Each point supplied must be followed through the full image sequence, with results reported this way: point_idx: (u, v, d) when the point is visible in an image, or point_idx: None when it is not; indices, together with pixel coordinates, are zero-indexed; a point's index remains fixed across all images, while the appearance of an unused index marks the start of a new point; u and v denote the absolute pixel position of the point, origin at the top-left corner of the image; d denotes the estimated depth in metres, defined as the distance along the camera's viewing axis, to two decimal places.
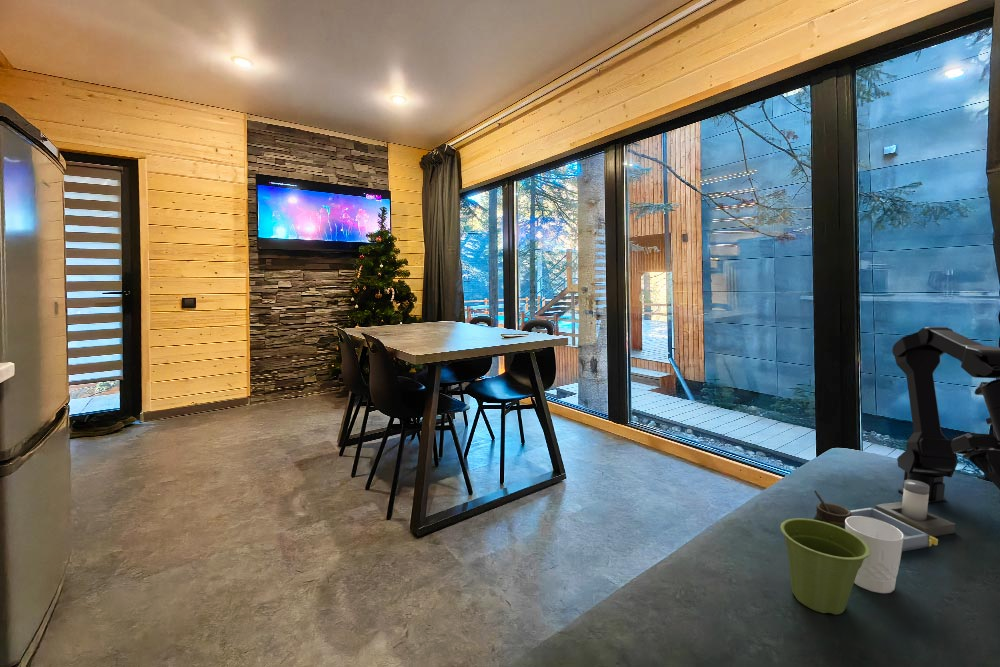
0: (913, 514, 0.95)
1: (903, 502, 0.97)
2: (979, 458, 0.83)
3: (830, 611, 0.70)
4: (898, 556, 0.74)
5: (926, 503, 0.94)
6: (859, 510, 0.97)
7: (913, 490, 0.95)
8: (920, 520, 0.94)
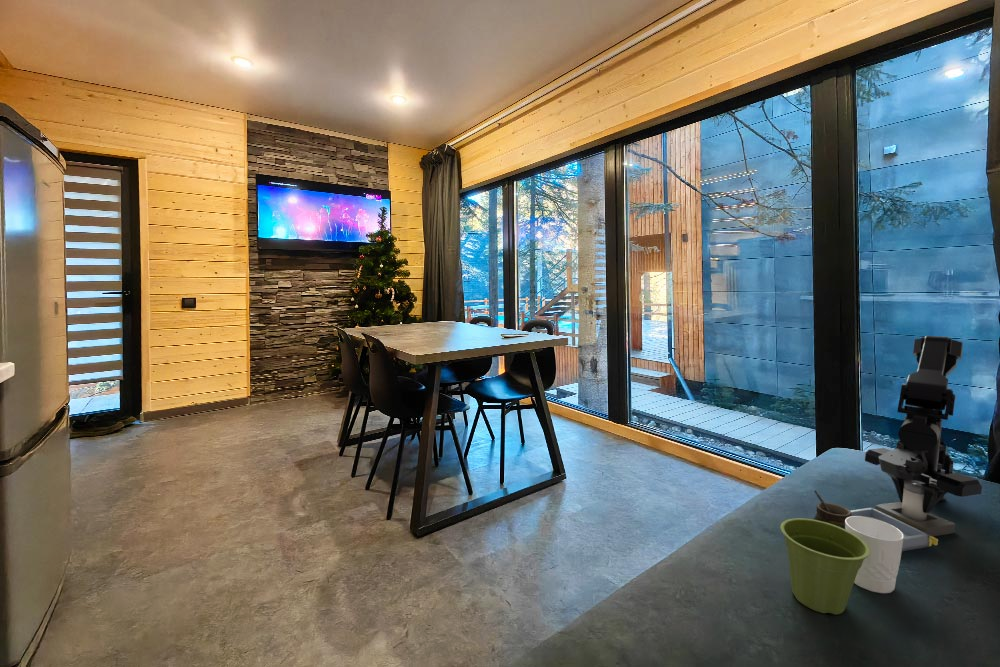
0: (913, 514, 0.95)
1: (903, 502, 0.97)
2: None
3: (830, 611, 0.70)
4: (898, 556, 0.74)
5: None
6: (859, 510, 0.97)
7: (913, 490, 0.95)
8: (920, 520, 0.94)
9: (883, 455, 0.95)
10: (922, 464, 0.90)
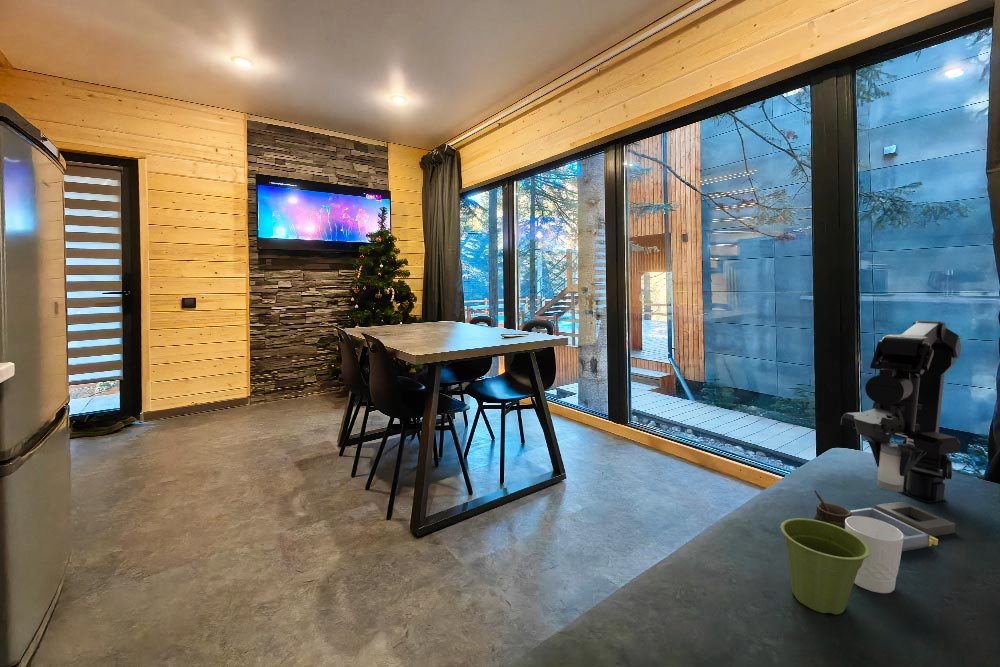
0: (890, 477, 0.90)
1: (879, 465, 0.92)
2: None
3: (830, 611, 0.70)
4: (898, 556, 0.74)
5: None
6: (859, 510, 0.97)
7: (890, 452, 0.90)
8: (897, 484, 0.89)
9: (859, 415, 0.90)
10: (898, 422, 0.85)
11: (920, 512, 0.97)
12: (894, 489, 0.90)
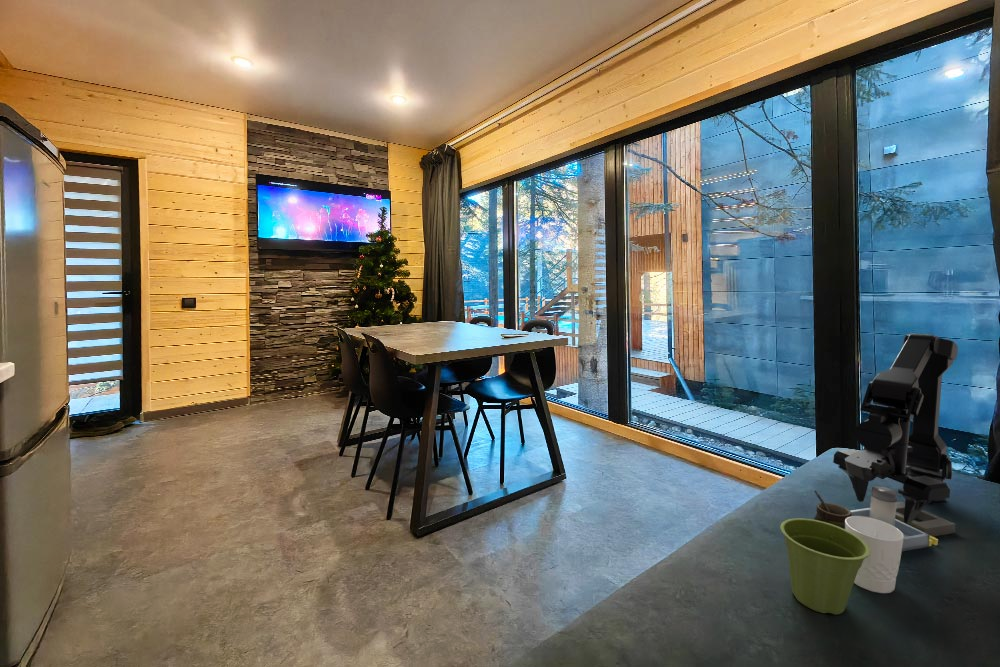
0: None
1: (870, 510, 0.92)
2: None
3: (830, 611, 0.70)
4: (898, 556, 0.74)
5: (894, 511, 0.90)
6: (859, 510, 0.97)
7: (880, 497, 0.90)
8: None
9: (850, 457, 0.91)
10: (888, 467, 0.85)
11: (920, 512, 0.97)
12: None
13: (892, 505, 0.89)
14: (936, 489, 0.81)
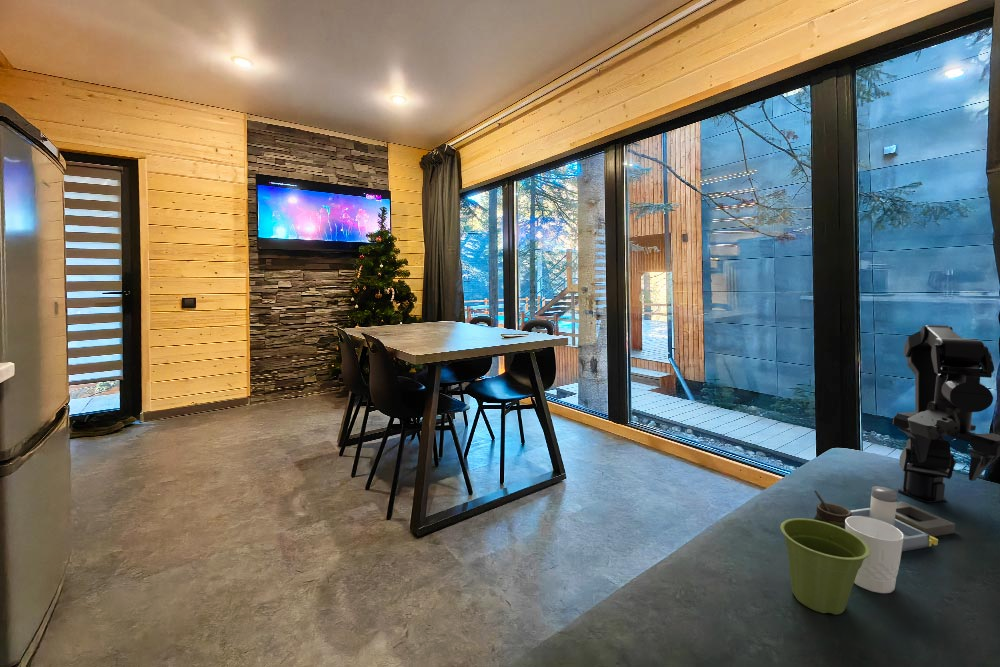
0: None
1: (870, 509, 0.92)
2: None
3: (830, 611, 0.70)
4: (898, 556, 0.74)
5: (894, 511, 0.90)
6: (859, 510, 0.97)
7: (880, 497, 0.90)
8: None
9: (913, 417, 0.92)
10: (954, 424, 0.87)
11: (920, 512, 0.97)
12: None
13: (892, 505, 0.89)
14: None
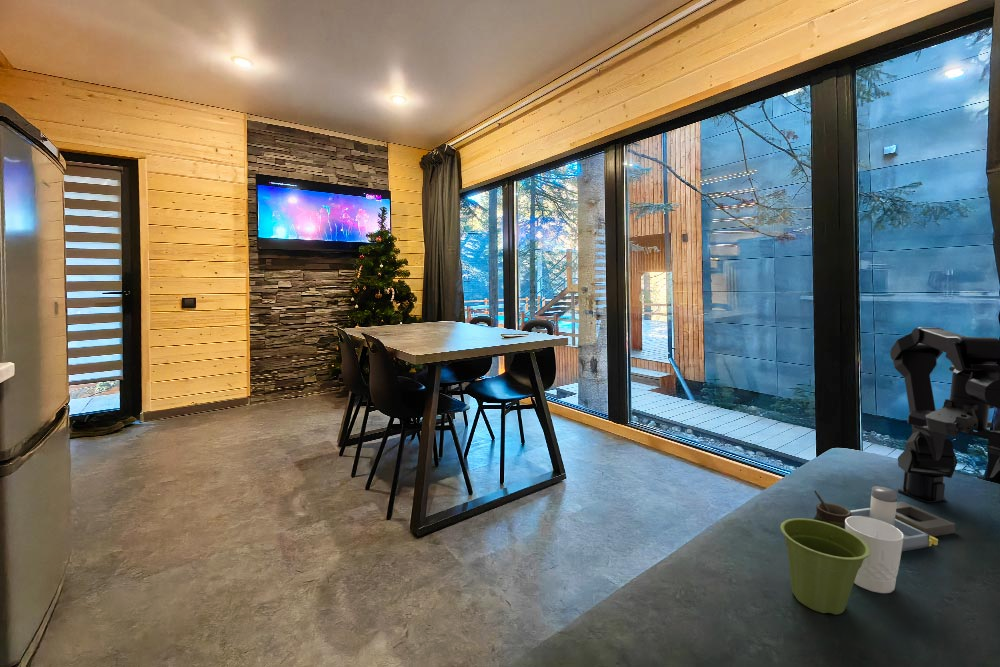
0: None
1: (870, 510, 0.92)
2: None
3: (830, 611, 0.70)
4: (898, 556, 0.74)
5: (894, 511, 0.90)
6: (859, 510, 0.97)
7: (880, 497, 0.90)
8: None
9: (931, 414, 0.93)
10: (974, 421, 0.87)
11: (920, 512, 0.97)
12: None
13: (892, 505, 0.89)
14: None
